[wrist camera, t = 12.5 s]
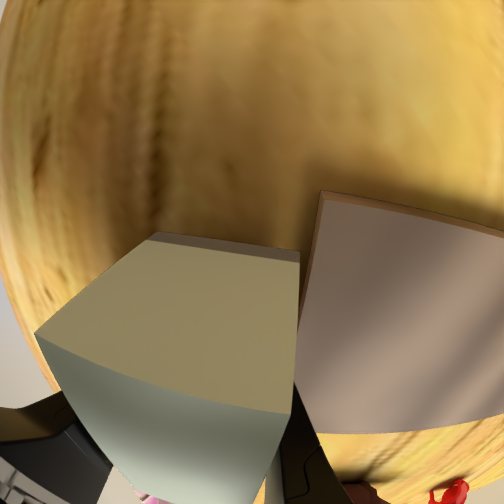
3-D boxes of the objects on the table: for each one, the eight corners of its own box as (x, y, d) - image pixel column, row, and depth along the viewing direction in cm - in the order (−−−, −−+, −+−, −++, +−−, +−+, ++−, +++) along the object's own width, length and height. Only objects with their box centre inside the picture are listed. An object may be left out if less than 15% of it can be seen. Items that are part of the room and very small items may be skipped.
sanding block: (300, 251, 8) (290, 414, 3) (264, 420, 12) (244, 520, 7) (157, 231, 9) (33, 333, 4) (176, 401, 12) (135, 489, 7)
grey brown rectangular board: (583, 261, 7) (593, 270, 6) (501, 401, 12) (506, 412, 11) (320, 190, 9) (323, 199, 7) (273, 411, 14) (271, 428, 13)
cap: (417, 511, 19) (425, 527, 17) (454, 507, 15) (459, 524, 13) (436, 473, 24) (443, 491, 23) (470, 466, 20) (474, 485, 19)
